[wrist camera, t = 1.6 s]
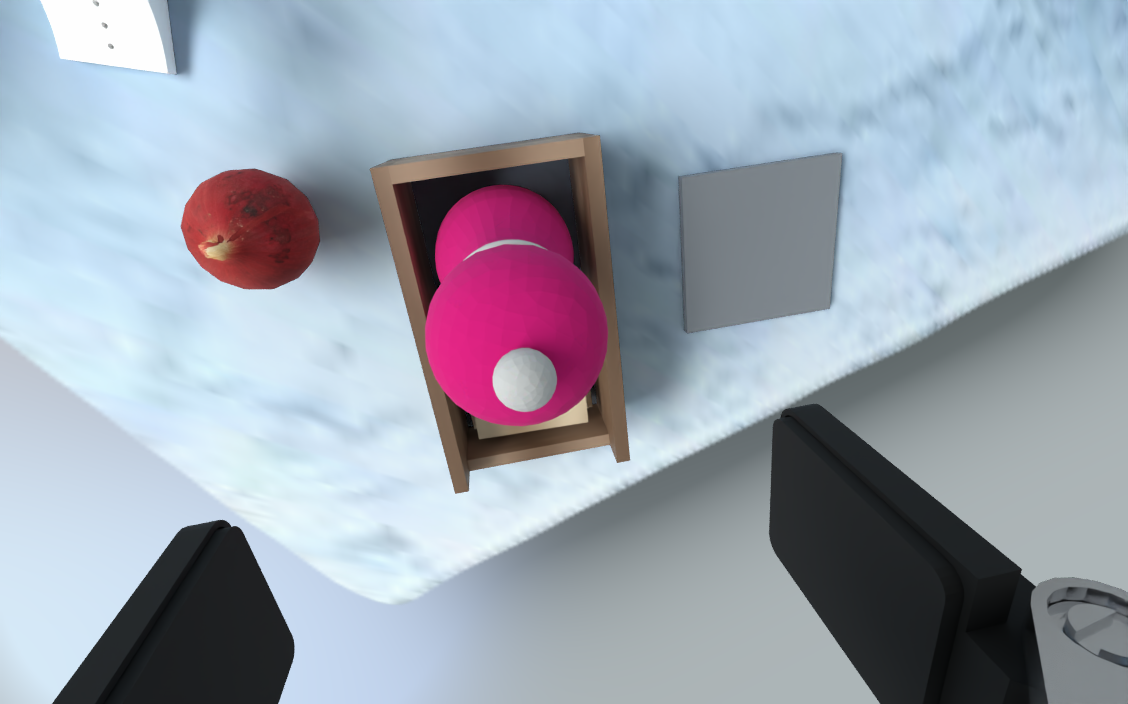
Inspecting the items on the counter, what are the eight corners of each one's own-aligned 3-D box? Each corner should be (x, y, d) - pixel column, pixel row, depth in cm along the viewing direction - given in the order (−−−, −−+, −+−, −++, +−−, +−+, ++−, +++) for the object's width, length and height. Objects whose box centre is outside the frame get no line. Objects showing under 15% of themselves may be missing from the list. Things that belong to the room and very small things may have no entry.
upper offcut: (576, 336, 34) (581, 347, 32) (584, 408, 36) (588, 422, 34) (465, 353, 33) (464, 365, 32) (479, 424, 35) (479, 439, 34)
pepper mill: (575, 193, 32) (698, 291, 14) (546, 307, 34) (618, 519, 16) (452, 162, 30) (405, 227, 12) (432, 284, 33) (367, 490, 15)
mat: (836, 152, 33) (842, 153, 32) (824, 305, 37) (829, 308, 36) (678, 176, 32) (681, 177, 32) (684, 330, 36) (687, 333, 36)
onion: (266, 139, 28) (191, 146, 21) (356, 217, 31) (317, 247, 23) (201, 219, 30) (109, 251, 22) (293, 288, 32) (237, 339, 24)
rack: (578, 132, 30) (599, 135, 25) (608, 411, 38) (630, 460, 33) (390, 159, 30) (369, 168, 24) (459, 438, 37) (455, 493, 32)
